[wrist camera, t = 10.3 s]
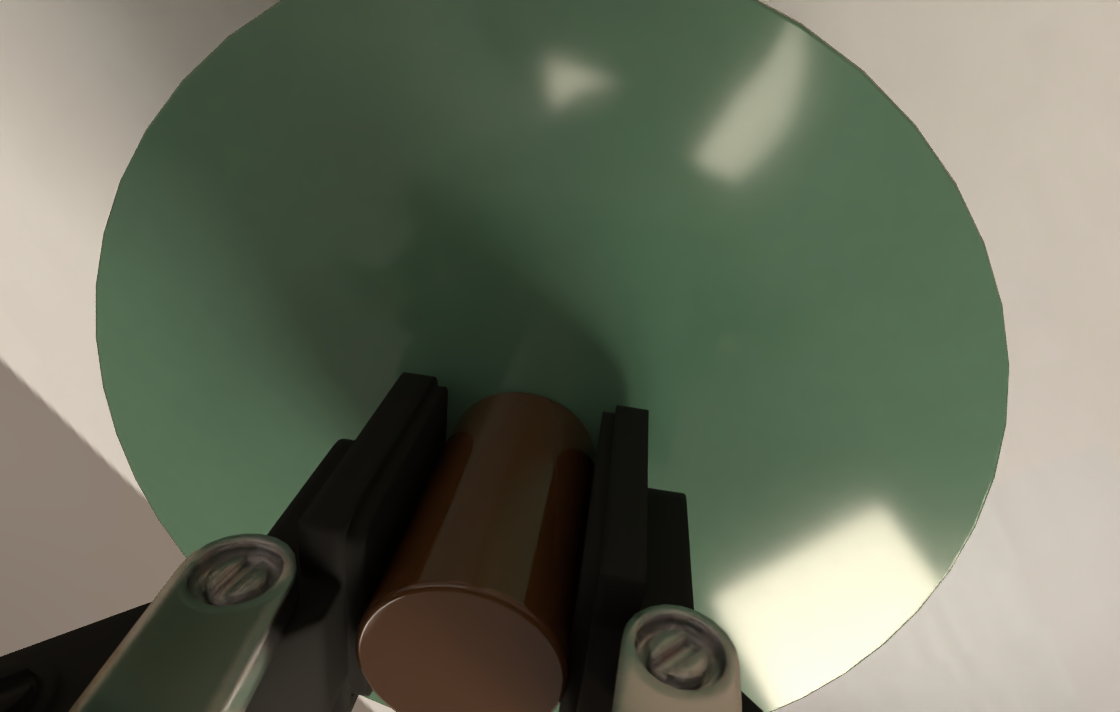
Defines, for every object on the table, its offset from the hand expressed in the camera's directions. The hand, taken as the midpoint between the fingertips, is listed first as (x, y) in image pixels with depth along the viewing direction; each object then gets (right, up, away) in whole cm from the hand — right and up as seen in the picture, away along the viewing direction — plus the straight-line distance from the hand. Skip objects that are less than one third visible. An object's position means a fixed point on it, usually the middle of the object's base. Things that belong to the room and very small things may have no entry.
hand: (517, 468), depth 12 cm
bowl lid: (0, 0, +1) cm, 1 cm away
